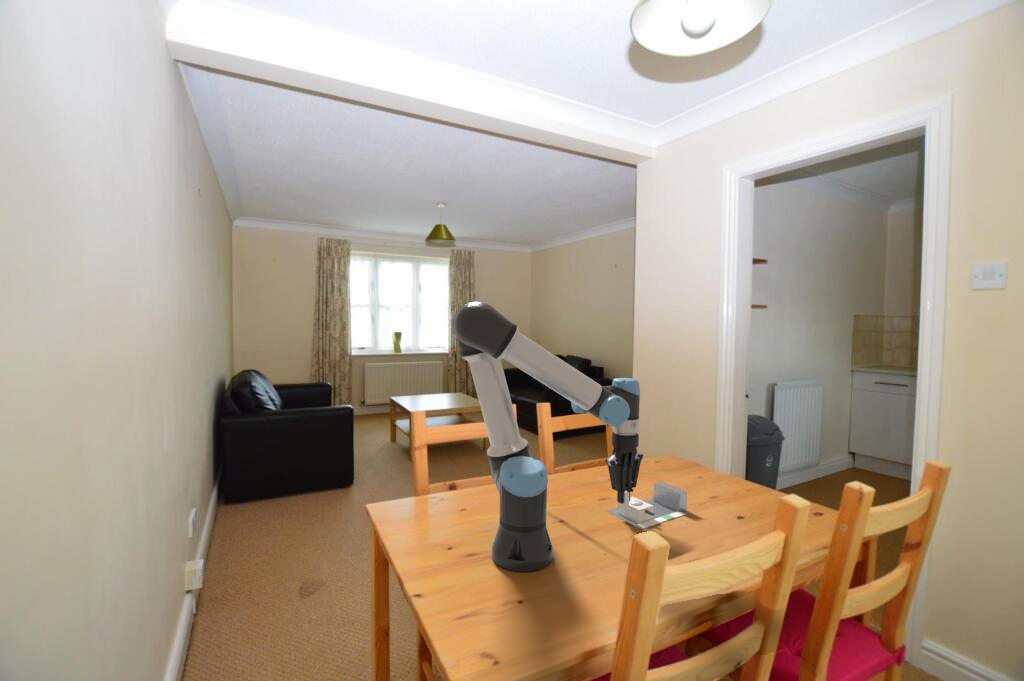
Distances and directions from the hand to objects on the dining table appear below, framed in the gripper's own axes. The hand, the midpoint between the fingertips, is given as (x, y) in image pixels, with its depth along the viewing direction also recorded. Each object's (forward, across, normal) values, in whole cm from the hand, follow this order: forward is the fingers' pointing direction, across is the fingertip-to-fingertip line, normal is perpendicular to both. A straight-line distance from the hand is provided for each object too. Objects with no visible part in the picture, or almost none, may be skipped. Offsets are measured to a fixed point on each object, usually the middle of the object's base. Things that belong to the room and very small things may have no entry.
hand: (623, 512), depth 134 cm
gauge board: (+3, +11, 0) cm, 12 cm away
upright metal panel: (+2, +20, 0) cm, 20 cm away
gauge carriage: (+2, +5, -1) cm, 6 cm away
